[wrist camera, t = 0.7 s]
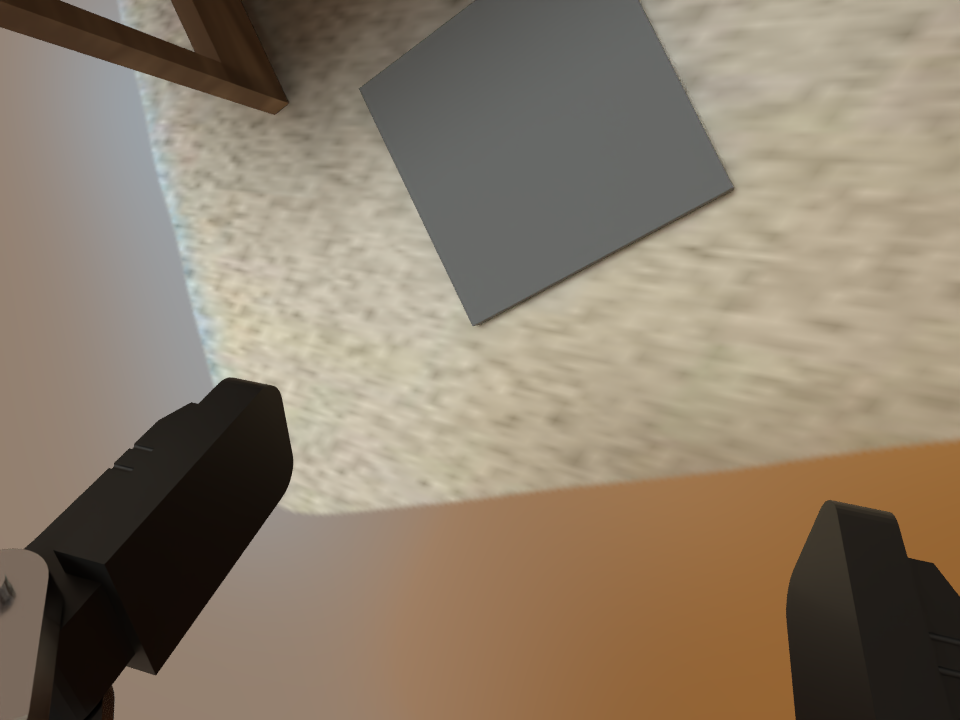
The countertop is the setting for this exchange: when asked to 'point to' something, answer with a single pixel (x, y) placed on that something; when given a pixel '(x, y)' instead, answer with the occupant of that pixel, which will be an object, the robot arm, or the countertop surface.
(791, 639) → the robot arm
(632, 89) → the slate mat
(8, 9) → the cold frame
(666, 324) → the countertop surface
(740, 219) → the countertop surface
